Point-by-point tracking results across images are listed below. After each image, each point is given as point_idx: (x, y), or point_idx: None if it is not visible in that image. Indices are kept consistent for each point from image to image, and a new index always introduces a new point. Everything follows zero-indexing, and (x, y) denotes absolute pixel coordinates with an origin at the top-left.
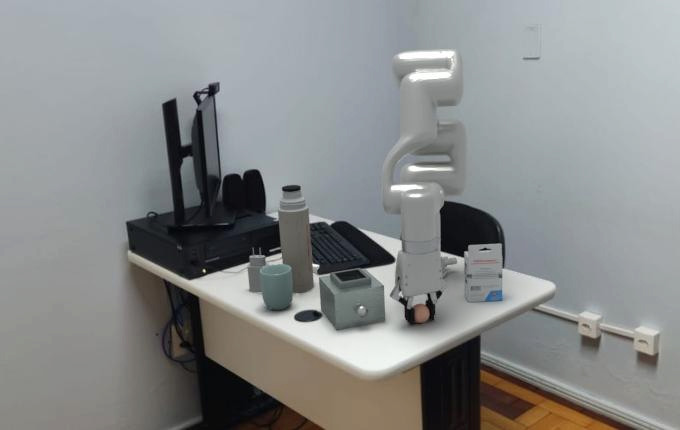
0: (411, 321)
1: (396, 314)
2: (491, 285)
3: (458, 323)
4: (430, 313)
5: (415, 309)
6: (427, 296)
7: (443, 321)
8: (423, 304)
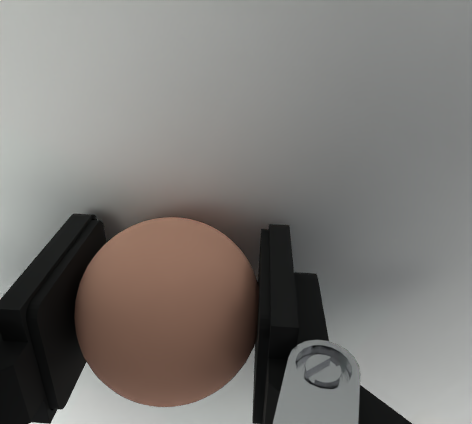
0: None
1: (35, 19)
2: None
3: (416, 378)
4: (255, 344)
5: (94, 372)
6: (279, 400)
7: (348, 318)
8: (196, 376)
